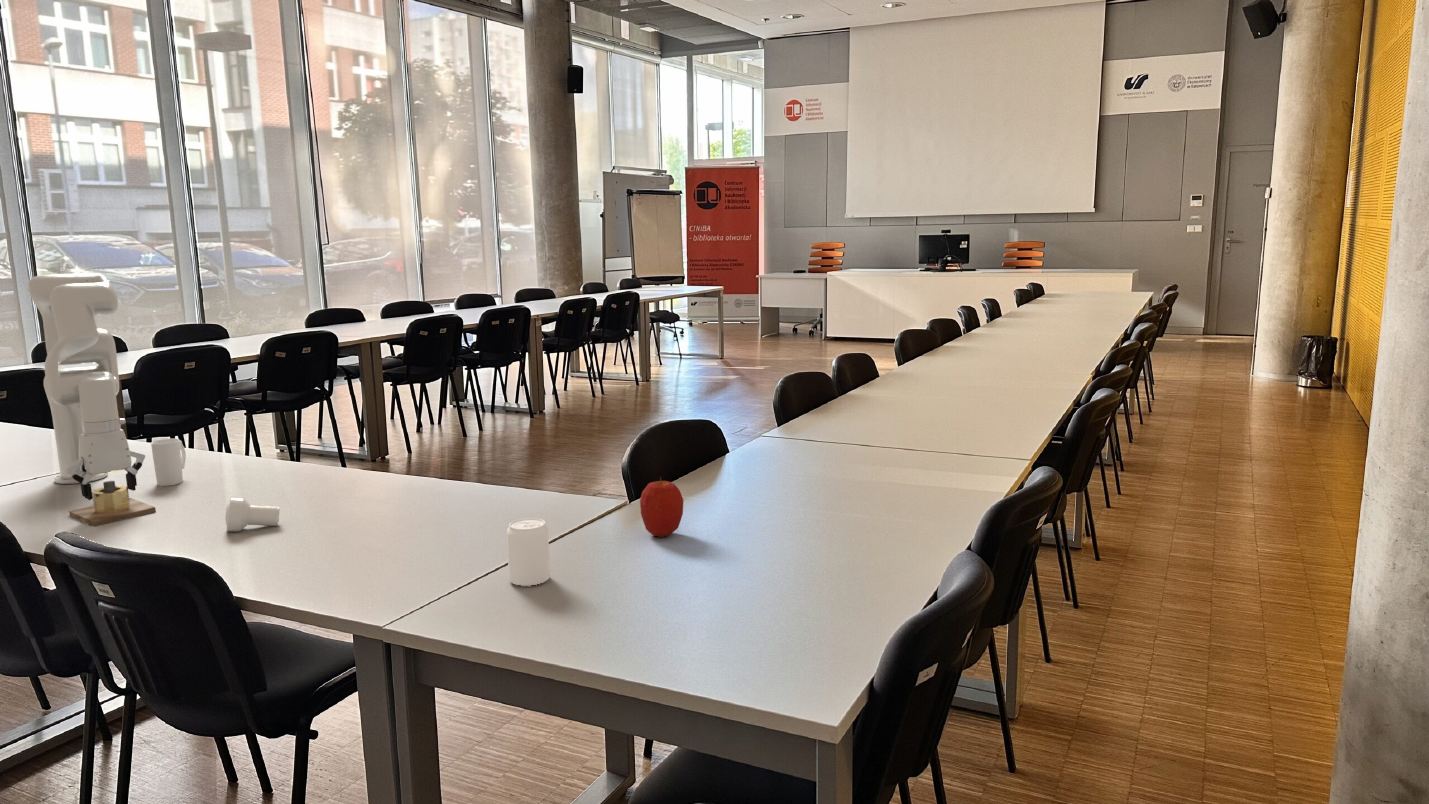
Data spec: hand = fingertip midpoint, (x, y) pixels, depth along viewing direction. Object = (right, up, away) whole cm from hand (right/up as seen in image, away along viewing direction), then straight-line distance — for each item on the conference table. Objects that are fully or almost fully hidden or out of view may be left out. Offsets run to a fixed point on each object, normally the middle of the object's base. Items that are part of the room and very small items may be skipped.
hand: (110, 494), depth 230 cm
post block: (0, -5, +1) cm, 5 cm away
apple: (+138, -8, -17) cm, 139 cm away
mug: (-2, 0, +30) cm, 30 cm away
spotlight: (+40, -7, -11) cm, 42 cm away
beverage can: (+113, -13, -44) cm, 122 cm away
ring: (0, -4, +1) cm, 4 cm away
